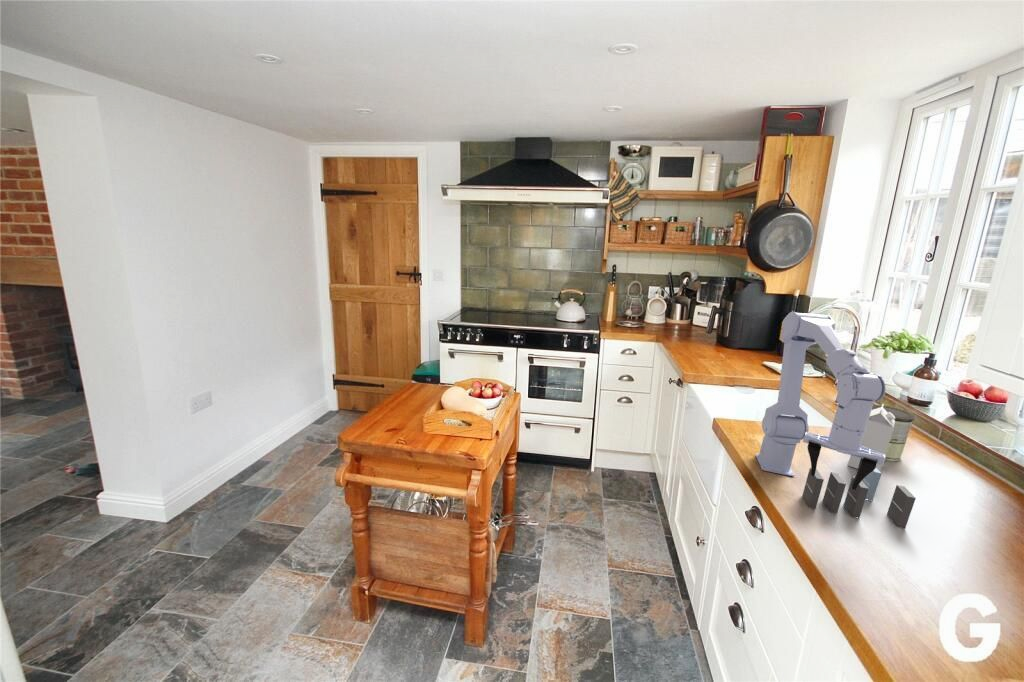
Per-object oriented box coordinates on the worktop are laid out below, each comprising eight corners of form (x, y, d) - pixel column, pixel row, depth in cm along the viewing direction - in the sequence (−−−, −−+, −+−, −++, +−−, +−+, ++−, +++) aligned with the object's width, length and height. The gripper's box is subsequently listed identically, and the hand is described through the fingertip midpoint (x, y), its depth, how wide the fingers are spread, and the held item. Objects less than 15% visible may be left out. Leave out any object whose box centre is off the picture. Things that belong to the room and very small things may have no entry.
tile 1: (808, 507, 106) (816, 478, 104) (802, 496, 111) (809, 467, 109) (815, 509, 106) (824, 479, 104) (809, 497, 111) (816, 469, 109)
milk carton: (847, 466, 128) (865, 405, 123) (850, 458, 133) (867, 399, 128) (878, 476, 124) (898, 414, 119) (880, 467, 129) (899, 407, 124)
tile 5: (897, 526, 101) (907, 496, 99) (886, 514, 106) (896, 484, 104) (905, 528, 101) (915, 498, 99) (894, 515, 106) (904, 486, 104)
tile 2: (829, 512, 105) (838, 482, 103) (822, 500, 110) (830, 471, 108) (837, 513, 105) (846, 484, 103) (829, 501, 109) (838, 473, 107)
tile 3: (851, 516, 104) (860, 487, 102) (843, 504, 109) (852, 476, 107) (859, 518, 104) (868, 488, 101) (850, 506, 108) (859, 477, 106)
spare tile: (865, 500, 111) (874, 471, 109) (857, 489, 116) (865, 462, 114) (872, 501, 111) (881, 473, 109) (864, 490, 116) (872, 463, 114)
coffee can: (851, 446, 141) (863, 405, 137) (873, 443, 144) (885, 404, 141) (886, 463, 132) (900, 420, 128) (908, 460, 135) (923, 417, 131)
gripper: (808, 420, 98) (793, 475, 101) (892, 443, 89) (873, 502, 93) (811, 411, 103) (797, 463, 107) (890, 432, 95) (873, 488, 98)
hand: (832, 480), depth 100 cm, fingers open, 7 cm apart
